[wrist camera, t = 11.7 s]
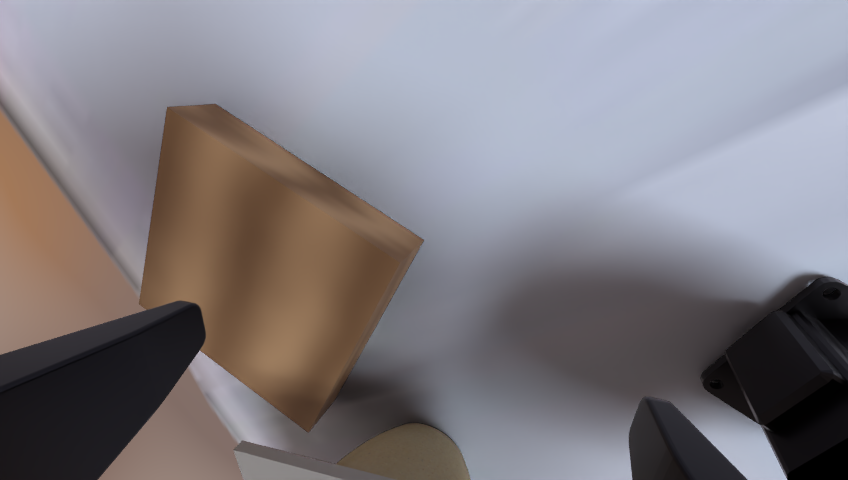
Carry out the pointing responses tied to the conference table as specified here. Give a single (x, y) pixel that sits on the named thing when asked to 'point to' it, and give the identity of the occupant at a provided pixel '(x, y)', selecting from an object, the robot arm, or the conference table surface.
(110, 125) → the conference table surface
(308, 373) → the stand
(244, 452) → the cover
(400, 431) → the flower pot
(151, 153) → the conference table surface
